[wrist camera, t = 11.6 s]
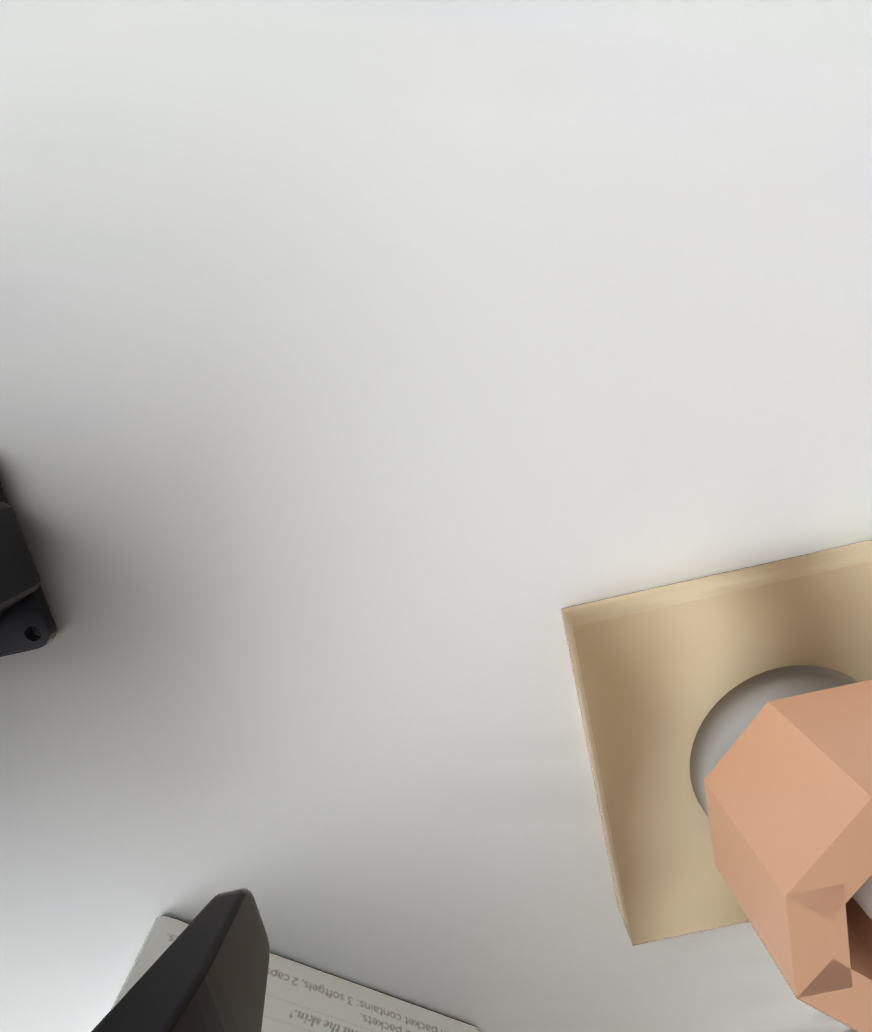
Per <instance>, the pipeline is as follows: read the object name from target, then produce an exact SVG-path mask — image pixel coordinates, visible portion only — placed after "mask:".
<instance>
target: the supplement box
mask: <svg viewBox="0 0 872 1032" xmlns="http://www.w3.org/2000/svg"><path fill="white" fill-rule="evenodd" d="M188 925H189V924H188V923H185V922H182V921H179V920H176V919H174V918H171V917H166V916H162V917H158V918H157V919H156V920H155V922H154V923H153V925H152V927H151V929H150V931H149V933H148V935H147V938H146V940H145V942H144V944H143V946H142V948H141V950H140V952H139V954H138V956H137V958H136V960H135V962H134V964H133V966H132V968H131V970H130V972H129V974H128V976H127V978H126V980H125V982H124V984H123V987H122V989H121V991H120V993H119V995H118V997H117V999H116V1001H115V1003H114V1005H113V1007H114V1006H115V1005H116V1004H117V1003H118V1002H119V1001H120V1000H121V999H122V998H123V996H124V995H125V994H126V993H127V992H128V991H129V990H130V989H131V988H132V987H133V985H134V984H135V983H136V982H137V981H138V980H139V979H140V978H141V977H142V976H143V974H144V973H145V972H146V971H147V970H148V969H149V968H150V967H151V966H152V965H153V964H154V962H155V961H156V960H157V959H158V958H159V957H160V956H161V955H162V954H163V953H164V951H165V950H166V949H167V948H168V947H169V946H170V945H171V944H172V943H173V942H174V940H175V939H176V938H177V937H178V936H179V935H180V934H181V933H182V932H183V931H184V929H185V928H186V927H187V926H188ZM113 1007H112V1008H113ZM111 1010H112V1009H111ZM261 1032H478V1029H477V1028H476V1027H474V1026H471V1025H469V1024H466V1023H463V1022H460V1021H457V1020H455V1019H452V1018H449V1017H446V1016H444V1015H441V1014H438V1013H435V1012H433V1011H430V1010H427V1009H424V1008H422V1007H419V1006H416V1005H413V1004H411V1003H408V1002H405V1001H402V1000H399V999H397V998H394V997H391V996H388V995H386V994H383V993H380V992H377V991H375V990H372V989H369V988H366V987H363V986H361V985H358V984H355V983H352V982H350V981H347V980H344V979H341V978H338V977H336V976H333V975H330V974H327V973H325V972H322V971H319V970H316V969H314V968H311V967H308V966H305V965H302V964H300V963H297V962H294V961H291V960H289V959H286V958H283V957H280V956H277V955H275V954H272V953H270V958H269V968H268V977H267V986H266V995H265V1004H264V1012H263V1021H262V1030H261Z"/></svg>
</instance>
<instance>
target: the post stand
mask: <svg viewBox="0 0 872 1032" xmlns="http://www.w3.org/2000/svg"><path fill="white" fill-rule="evenodd" d="M562 614H563V619H564V625H565V630H566V635H567V640H568V645H569V651H570V656H571V661H572V666H573V672H574V677H575V682H576V687H577V692H578V698H579V703H580V708H581V713H582V719H583V724H584V729H585V734H586V739H587V745H588V750H589V755H590V760H591V766H592V771H593V776H594V781H595V786H596V792H597V797H598V802H599V807H600V813H601V818H602V823H603V828H604V833H605V839H606V844H607V849H608V854H609V860H610V865H611V870H612V875H613V881H614V886H615V891H616V896H617V901H618V907H619V910H620V913H621V916H622V918H623V921H624V924H625V926H626V929H627V932H628V934H629V937H630V940H631V942H632V945H638V944H643V943H648V942H653V941H657V940H662V939H667V938H672V937H677V936H681V935H686V934H691V933H696V932H700V931H705V930H710V929H715V928H720V927H724V926H729V925H734V924H739V923H743V922H748V921H749V920H748V918H747V916H746V915H745V913H744V911H743V910H742V908H741V906H740V905H739V903H738V901H737V900H736V898H735V897H734V895H733V893H732V892H731V890H730V888H729V887H728V885H727V883H726V882H725V880H724V879H723V877H722V875H721V874H720V872H719V870H718V869H717V867H716V865H715V860H714V852H713V845H712V838H711V831H710V823H709V816H708V809H707V801H706V794H705V787H704V779H705V778H706V777H707V776H708V774H709V773H710V772H711V771H712V769H713V768H714V767H715V766H716V765H717V763H718V762H719V761H720V760H721V758H722V757H723V756H724V755H725V754H726V752H727V751H728V750H729V749H730V747H731V746H732V745H733V744H734V743H735V741H736V740H737V739H738V738H739V736H740V735H741V734H742V733H743V731H744V730H745V729H746V728H747V727H748V725H749V724H750V723H751V722H752V720H753V719H754V718H755V717H756V716H757V714H758V713H759V712H760V711H761V709H762V708H763V707H764V706H765V705H766V703H767V702H768V701H772V700H777V699H782V698H786V697H791V696H796V695H801V694H806V693H810V692H815V691H820V690H825V689H829V688H834V687H839V686H844V685H848V684H853V683H858V682H863V681H867V680H872V540H869V541H865V542H860V543H856V544H851V545H847V546H842V547H838V548H833V549H829V550H824V551H820V552H815V553H811V554H806V555H802V556H797V557H793V558H788V559H784V560H779V561H775V562H770V563H766V564H761V565H757V566H752V567H748V568H743V569H739V570H734V571H730V572H725V573H721V574H716V575H712V576H707V577H703V578H698V579H694V580H689V581H685V582H680V583H676V584H671V585H666V586H662V587H657V588H653V589H648V590H644V591H639V592H635V593H630V594H626V595H621V596H617V597H612V598H608V599H603V600H599V601H594V602H590V603H585V604H581V605H576V606H572V607H567V608H563V609H562ZM852 897H853V898H854V900H855V901H856V902H857V903H858V904H859V906H860V907H861V908H862V909H863V910H864V912H865V913H866V914H867V915H868V916H869V918H870V919H871V920H872V875H871V876H870V877H869V878H868V879H867V881H866V882H865V883H864V884H863V885H862V886H861V887H860V888H859V889H858V890H857V892H856V893H855V894H854V895H853V896H852Z"/></svg>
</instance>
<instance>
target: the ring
mask: <svg viewBox="0 0 872 1032" xmlns="http://www.w3.org/2000/svg"><path fill="white" fill-rule="evenodd" d="M704 787H705V794H706V801H707V809H708V816H709V823H710V831H711V838H712V845H713V852H714V860H715V865H716V867H717V869H718V870H719V872H720V874H721V875H722V877H723V879H724V880H725V882H726V883H727V885H728V887H729V888H730V890H731V892H732V893H733V895H734V897H735V898H736V900H737V901H738V903H739V905H740V906H741V908H742V910H743V911H744V913H745V915H746V916H747V918H748V920H749V921H750V923H751V924H752V926H753V928H754V929H755V931H756V933H757V934H758V936H759V938H760V939H761V941H762V942H763V944H764V946H765V947H766V949H767V951H768V952H769V954H770V956H771V957H772V959H773V961H774V962H775V964H776V965H777V967H778V969H779V970H780V972H781V974H782V975H783V977H784V979H785V980H786V982H787V983H788V985H789V987H790V988H791V990H792V992H793V993H794V995H795V997H796V998H797V999H799V1000H801V1001H802V1002H804V1003H806V1004H808V1005H810V1006H812V1007H813V1008H815V1009H817V1010H819V1011H821V1012H823V1013H824V1014H826V1015H828V1016H830V1017H832V1018H834V1019H835V1020H837V1021H839V1022H841V1023H843V1024H845V1025H847V1026H848V1027H850V1028H852V1029H854V1030H856V1031H858V1032H872V920H871V919H870V918H869V916H868V915H867V914H866V913H865V912H864V910H863V909H862V908H861V907H860V906H859V904H858V903H857V902H856V901H855V900H854V898H853V897H852V896H853V895H854V894H855V893H856V892H857V890H858V889H859V888H860V887H861V886H862V885H863V884H864V883H865V882H866V881H867V879H868V878H869V877H870V876H871V875H872V680H867V681H863V682H858V683H853V684H848V685H844V686H839V687H834V688H829V689H825V690H820V691H815V692H810V693H806V694H801V695H796V696H791V697H786V698H782V699H777V700H772V701H768V702H767V703H766V705H765V706H764V707H763V708H762V709H761V711H760V712H759V713H758V714H757V716H756V717H755V718H754V719H753V720H752V722H751V723H750V724H749V725H748V727H747V728H746V729H745V730H744V731H743V733H742V734H741V735H740V736H739V738H738V739H737V740H736V741H735V743H734V744H733V745H732V746H731V747H730V749H729V750H728V751H727V752H726V754H725V755H724V756H723V757H722V758H721V760H720V761H719V762H718V763H717V765H716V766H715V767H714V768H713V769H712V771H711V772H710V773H709V774H708V776H707V777H706V778H705V779H704Z"/></svg>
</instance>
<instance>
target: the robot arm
mask: <svg viewBox="0 0 872 1032" xmlns="http://www.w3.org/2000/svg"><path fill="white" fill-rule="evenodd" d="M39 583H40V579H39V576H38V574H37V571H36V568H35V566H34V563H33V561H32V558H31V556H30V553H29V550H28V548H27V545H26V543H25V540H24V538H23V535H22V532H21V530H20V527H19V525H18V522H17V520H16V517H15V514H14V512H13V509H12V508H11V507H10V506H9V504H8V501H7V499H6V496H5V494H4V491H3V489H2V486H1V483H0V657H2V656H6V655H11V654H15V653H20V652H24V651H29V650H33V649H38V648H40V647H43V646H44V645H46V644H47V643H49V642H50V641H51V640H52V639H53V638H54V637H55V635H56V631H57V630H56V625H55V622H54V620H53V617H52V614H51V612H50V609H49V607H48V604H47V602H46V599H45V596H44V594H43V591H42V589H41V586H40V584H39ZM32 626H35V627H37V628H38V629H39V630H40V632H41V636H38V635H36V634H35V633H34V632H33V630H32ZM269 958H270V949H269V941H268V937H267V933H266V931H265V928H264V925H263V922H262V919H261V916H260V913H259V911H258V908H257V905H256V902H255V899H254V897H253V895H252V893H251V892H250V891H249V890H248V889H238V890H234V891H229V892H224V893H221V894H218V895H217V896H215V897H214V898H213V899H212V900H211V901H210V902H209V903H208V904H207V905H206V906H205V908H204V909H203V910H202V911H201V912H200V913H199V914H198V915H197V916H196V917H195V919H194V920H193V921H192V922H191V923H190V924H189V925H188V926H187V927H186V928H185V929H184V931H183V932H182V933H181V934H180V935H179V936H178V937H177V938H176V939H175V940H174V942H173V943H172V944H171V945H170V946H169V947H168V948H167V949H166V950H165V951H164V953H163V954H162V955H161V956H160V957H159V958H158V959H157V960H156V961H155V962H154V964H153V965H152V966H151V967H150V968H149V969H148V970H147V971H146V972H145V973H144V974H143V976H142V977H141V978H140V979H139V980H138V981H137V982H136V983H135V984H134V985H133V987H132V988H131V989H130V990H129V991H128V992H127V993H126V994H125V995H124V996H123V998H122V999H121V1000H120V1001H119V1002H118V1003H117V1004H116V1005H115V1006H114V1007H113V1008H112V1010H111V1011H110V1012H109V1013H108V1014H107V1015H106V1016H105V1017H104V1018H103V1019H102V1021H101V1022H100V1023H99V1024H98V1025H97V1026H96V1027H95V1028H94V1029H93V1030H92V1032H261V1030H262V1021H263V1012H264V1004H265V995H266V986H267V977H268V968H269Z"/></svg>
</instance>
